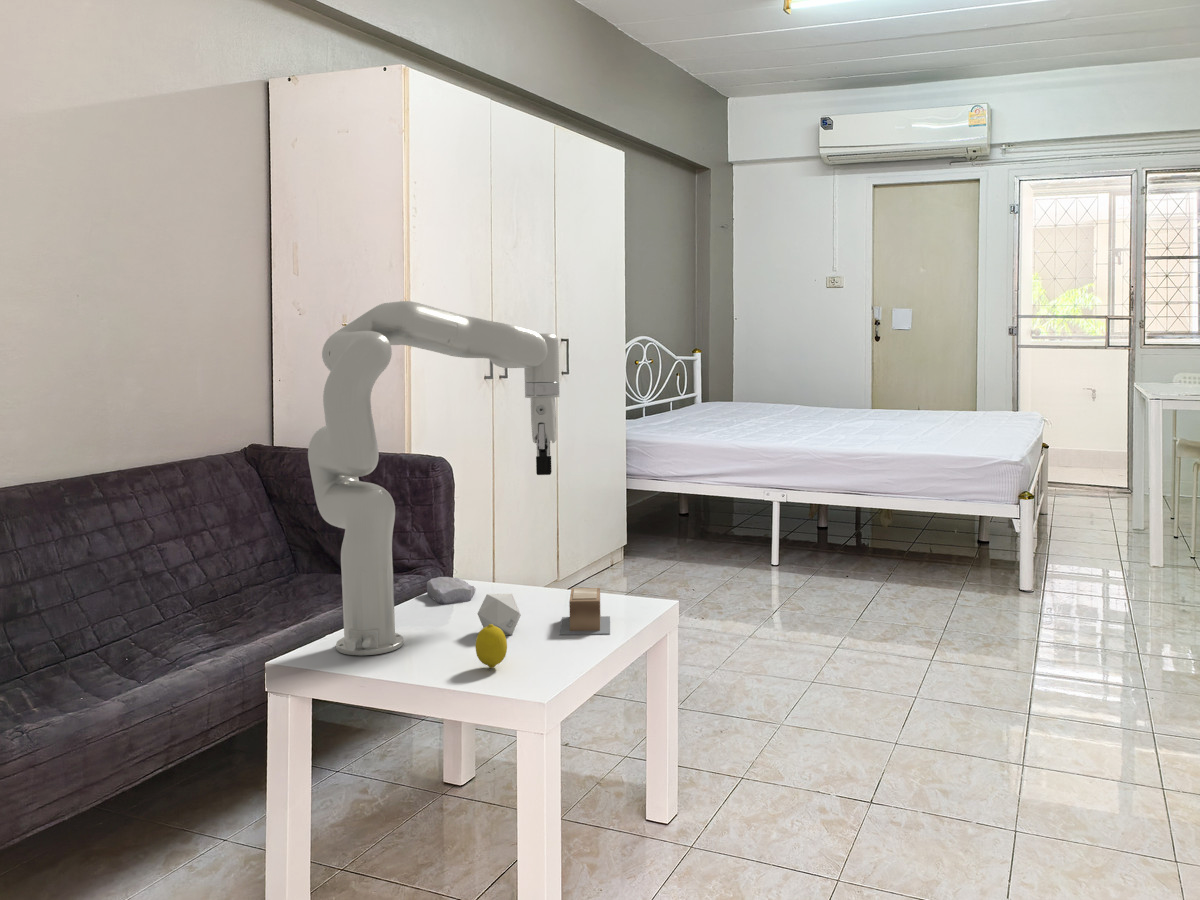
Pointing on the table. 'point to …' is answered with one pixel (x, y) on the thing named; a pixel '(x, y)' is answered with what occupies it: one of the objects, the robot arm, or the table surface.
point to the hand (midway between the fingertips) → (544, 474)
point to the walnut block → (585, 609)
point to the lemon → (491, 645)
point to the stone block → (449, 590)
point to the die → (500, 612)
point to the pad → (603, 630)
